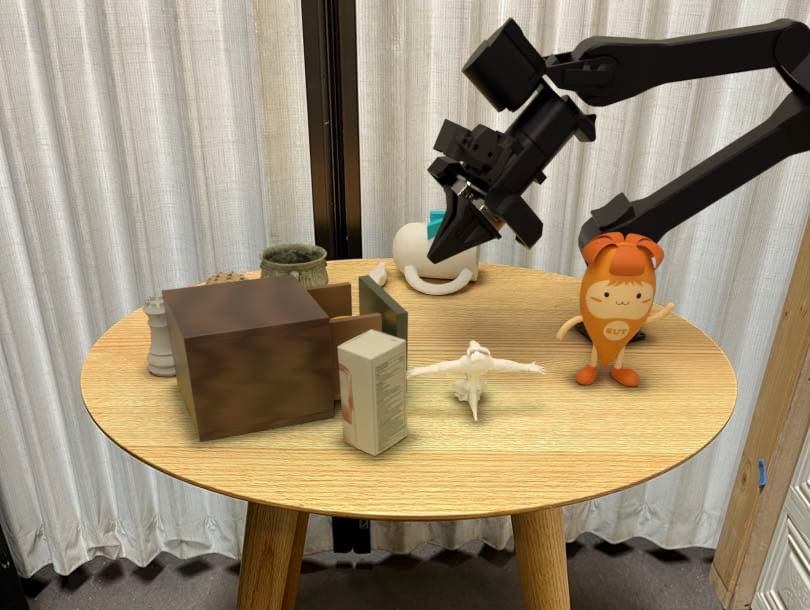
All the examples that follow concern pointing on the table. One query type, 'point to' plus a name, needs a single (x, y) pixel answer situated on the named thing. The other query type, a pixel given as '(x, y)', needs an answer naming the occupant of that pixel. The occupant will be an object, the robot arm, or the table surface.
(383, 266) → the pale tapered spike
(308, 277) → the vessel
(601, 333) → the toy figure
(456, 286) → the mug
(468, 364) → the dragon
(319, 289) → the drawer
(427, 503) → the table surface
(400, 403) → the printed medicine carton
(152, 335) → the rook chess piece
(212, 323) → the cabinet
